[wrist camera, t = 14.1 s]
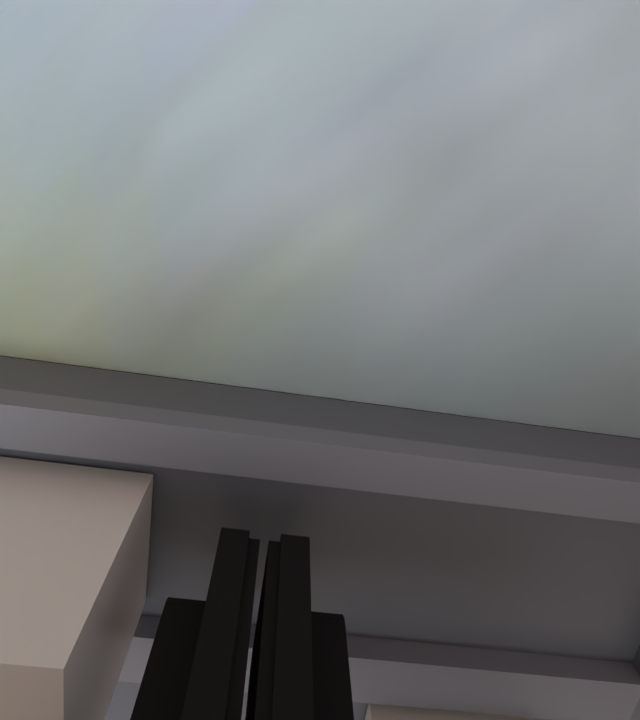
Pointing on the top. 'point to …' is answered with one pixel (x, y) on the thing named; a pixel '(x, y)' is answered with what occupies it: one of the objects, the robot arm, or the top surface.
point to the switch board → (376, 531)
